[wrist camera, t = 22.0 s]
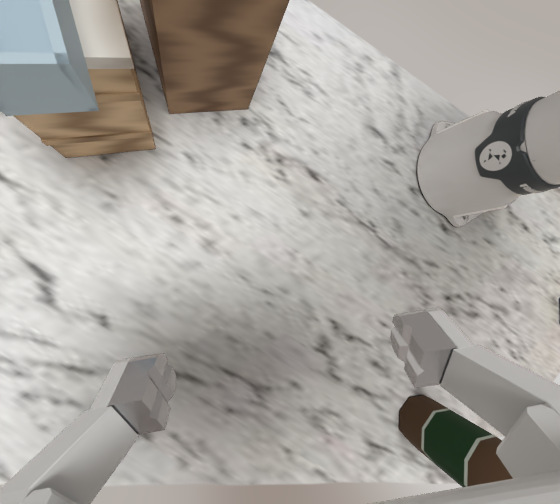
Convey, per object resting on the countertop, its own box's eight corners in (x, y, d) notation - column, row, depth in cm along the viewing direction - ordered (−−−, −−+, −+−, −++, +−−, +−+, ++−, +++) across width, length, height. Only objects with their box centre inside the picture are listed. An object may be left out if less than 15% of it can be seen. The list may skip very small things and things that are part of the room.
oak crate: (126, 26, 30) (66, -188, 15) (159, 151, 30) (131, 57, 16) (23, 21, 26) (-171, -252, 12) (63, 160, 27) (-75, 56, 13)
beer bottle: (391, 407, 41) (640, 594, 18) (425, 384, 43) (682, 522, 21) (404, 450, 41) (660, 681, 19) (437, 424, 44) (698, 601, 21)
